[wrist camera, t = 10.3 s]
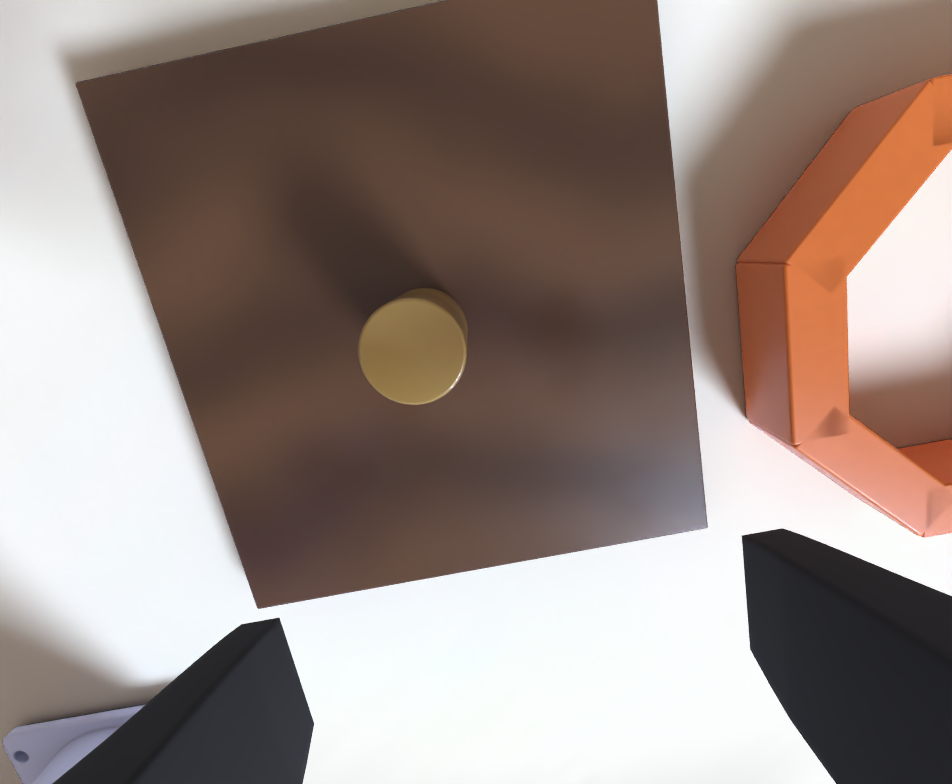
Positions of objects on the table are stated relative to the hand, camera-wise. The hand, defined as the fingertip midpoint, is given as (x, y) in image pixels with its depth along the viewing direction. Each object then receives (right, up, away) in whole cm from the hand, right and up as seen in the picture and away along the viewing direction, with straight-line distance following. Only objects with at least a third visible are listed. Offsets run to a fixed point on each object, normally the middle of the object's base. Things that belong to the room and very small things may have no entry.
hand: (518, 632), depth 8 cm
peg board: (-2, +6, +8) cm, 10 cm away
